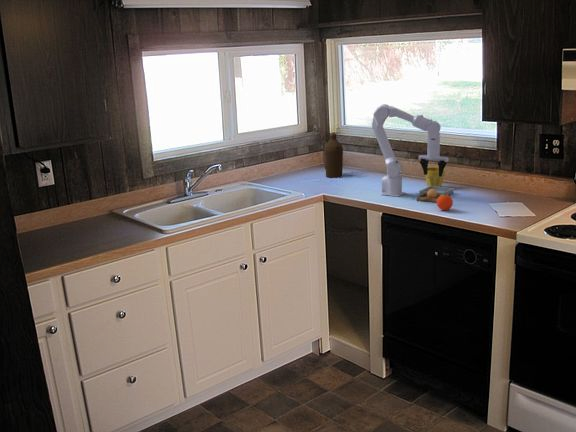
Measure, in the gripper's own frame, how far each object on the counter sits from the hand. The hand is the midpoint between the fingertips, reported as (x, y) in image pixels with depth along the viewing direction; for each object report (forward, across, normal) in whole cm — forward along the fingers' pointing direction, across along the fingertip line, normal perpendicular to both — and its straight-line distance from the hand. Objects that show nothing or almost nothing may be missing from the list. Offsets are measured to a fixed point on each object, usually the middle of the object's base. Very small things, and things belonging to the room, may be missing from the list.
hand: (433, 175), depth 301 cm
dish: (+10, 0, +3) cm, 10 cm away
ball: (+7, +4, -8) cm, 11 cm away
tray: (+10, +4, -8) cm, 14 cm away
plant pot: (+10, -7, +16) cm, 20 cm away
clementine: (+10, +16, -22) cm, 29 cm away
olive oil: (+10, -69, +16) cm, 71 cm away
